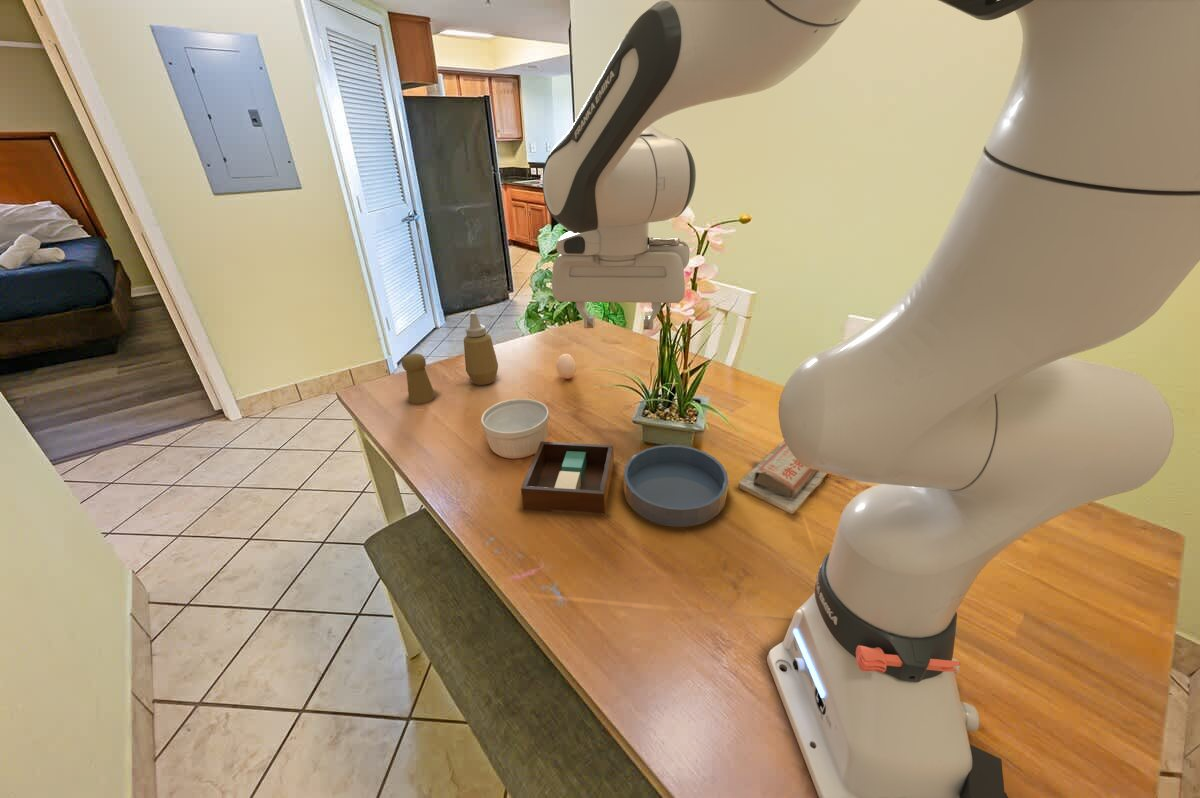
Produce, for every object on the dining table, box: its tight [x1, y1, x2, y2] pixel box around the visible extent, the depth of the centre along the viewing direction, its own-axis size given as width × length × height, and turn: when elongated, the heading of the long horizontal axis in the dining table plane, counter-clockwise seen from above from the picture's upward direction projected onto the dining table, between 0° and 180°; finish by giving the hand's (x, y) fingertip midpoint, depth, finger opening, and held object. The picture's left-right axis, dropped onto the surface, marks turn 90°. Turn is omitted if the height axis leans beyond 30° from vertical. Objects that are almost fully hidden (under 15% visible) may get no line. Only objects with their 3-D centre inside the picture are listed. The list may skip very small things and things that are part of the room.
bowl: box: [623, 444, 729, 528], centre depth 80 cm, size 17×17×4 cm
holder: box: [520, 441, 615, 514], centre depth 83 cm, size 14×14×4 cm
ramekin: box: [480, 398, 550, 460], centre depth 94 cm, size 13×13×7 cm
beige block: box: [554, 471, 581, 489], centre depth 80 cm, size 5×4×3 cm
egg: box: [556, 353, 577, 380], centre depth 120 cm, size 5×5×7 cm
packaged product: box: [738, 439, 828, 515], centre depth 83 cm, size 18×5×10 cm
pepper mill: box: [401, 353, 436, 405], centre depth 112 cm, size 6×6×11 cm
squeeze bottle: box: [463, 311, 499, 386], centre depth 117 cm, size 8×8×18 cm
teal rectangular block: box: [562, 451, 587, 481], centre depth 86 cm, size 5×4×3 cm
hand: (618, 327), depth 76 cm, fingers open, 8 cm apart
